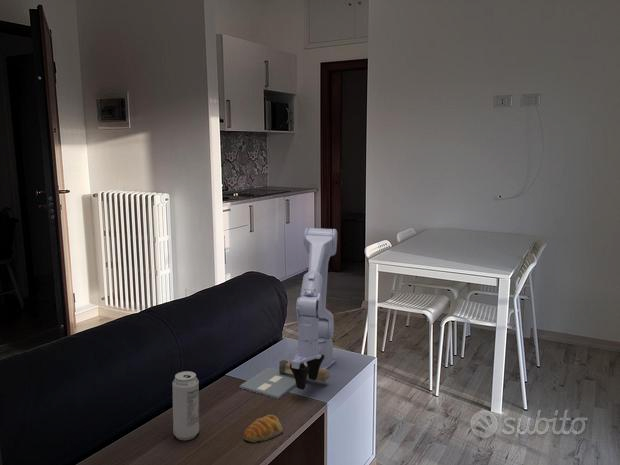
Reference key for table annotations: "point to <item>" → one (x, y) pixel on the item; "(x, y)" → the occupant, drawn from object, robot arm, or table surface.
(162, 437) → the table surface
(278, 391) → the label board
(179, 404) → the energy drink can
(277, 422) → the pastry
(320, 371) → the bar
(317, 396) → the table surface
